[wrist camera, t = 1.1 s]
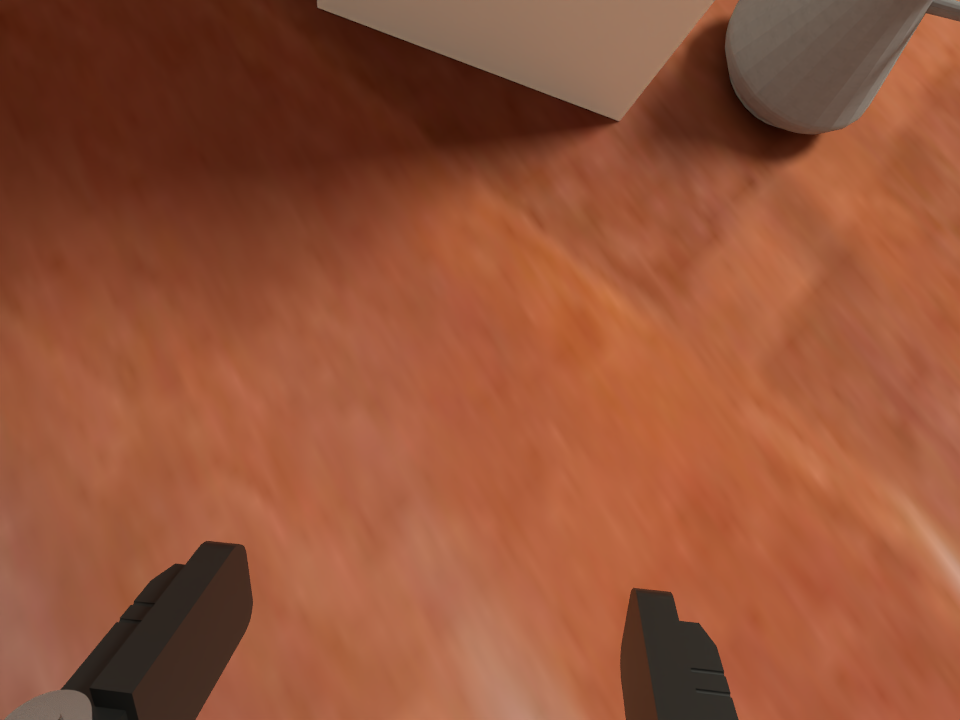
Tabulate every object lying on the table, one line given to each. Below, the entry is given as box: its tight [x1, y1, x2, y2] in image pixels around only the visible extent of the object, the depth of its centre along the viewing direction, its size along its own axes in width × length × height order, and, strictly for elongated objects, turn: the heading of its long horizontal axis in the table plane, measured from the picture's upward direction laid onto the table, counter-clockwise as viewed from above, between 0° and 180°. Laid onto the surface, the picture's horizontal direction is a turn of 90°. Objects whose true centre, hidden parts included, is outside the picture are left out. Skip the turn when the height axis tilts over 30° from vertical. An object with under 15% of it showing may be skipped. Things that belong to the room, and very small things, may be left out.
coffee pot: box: [725, 0, 960, 135], centre depth 38 cm, size 21×12×15 cm, turn 57°
